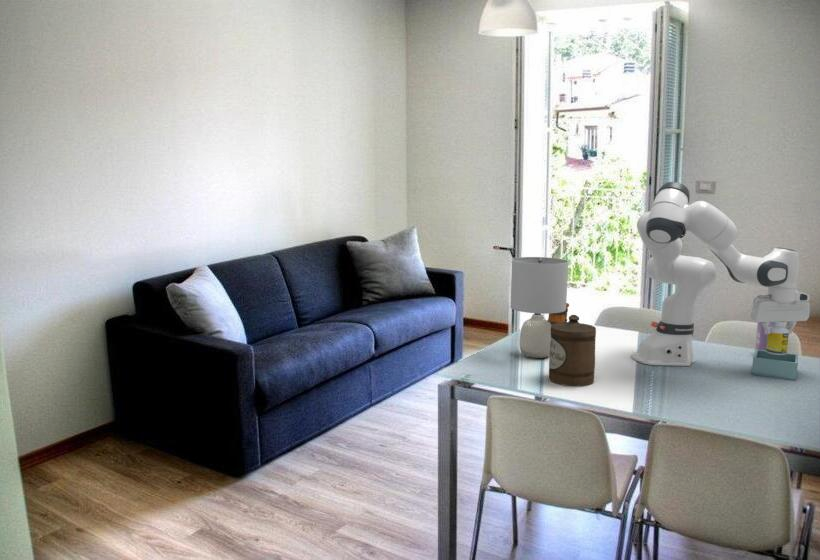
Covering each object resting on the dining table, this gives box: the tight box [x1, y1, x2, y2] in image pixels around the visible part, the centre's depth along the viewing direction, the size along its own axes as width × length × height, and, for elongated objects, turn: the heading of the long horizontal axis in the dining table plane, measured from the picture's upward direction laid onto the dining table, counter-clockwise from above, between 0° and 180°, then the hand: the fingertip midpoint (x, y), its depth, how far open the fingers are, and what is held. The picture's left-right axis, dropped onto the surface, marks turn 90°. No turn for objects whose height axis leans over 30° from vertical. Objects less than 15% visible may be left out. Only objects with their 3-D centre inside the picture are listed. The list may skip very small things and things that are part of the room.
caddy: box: [751, 349, 799, 381], centre depth 250 cm, size 14×14×6 cm
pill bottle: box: [766, 321, 790, 355], centre depth 248 cm, size 6×6×12 cm
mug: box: [547, 302, 570, 325], centre depth 312 cm, size 13×10×12 cm
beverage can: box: [754, 322, 772, 351], centre depth 272 cm, size 6×6×15 cm
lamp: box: [509, 256, 569, 359], centre depth 266 cm, size 20×20×37 cm
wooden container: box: [548, 314, 597, 387], centre depth 237 cm, size 15×15×22 cm
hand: (778, 333), depth 248 cm, fingers closed on pill bottle, 6 cm apart
